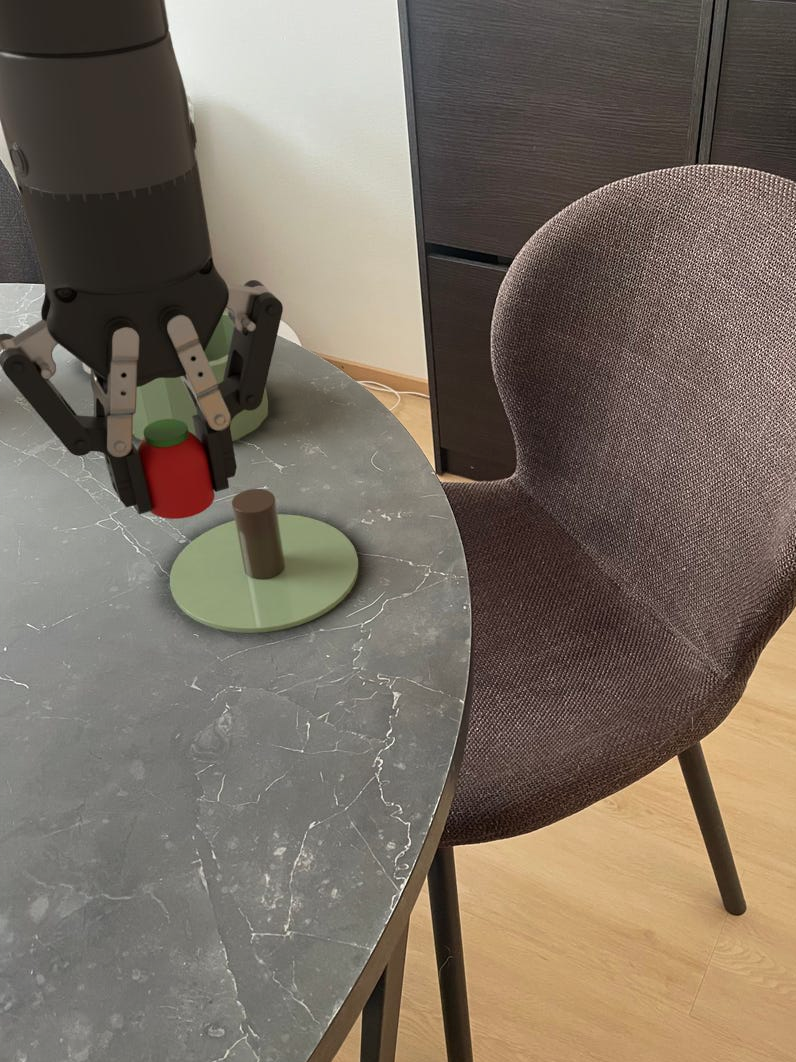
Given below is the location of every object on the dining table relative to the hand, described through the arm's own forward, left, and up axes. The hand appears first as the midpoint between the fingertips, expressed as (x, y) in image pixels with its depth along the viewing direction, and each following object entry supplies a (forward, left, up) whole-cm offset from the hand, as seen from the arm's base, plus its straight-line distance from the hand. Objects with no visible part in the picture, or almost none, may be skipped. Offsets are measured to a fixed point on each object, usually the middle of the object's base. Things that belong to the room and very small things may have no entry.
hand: (178, 493), depth 56 cm
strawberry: (0, 0, 0) cm, 0 cm away
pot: (-15, +29, -14) cm, 36 cm away
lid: (-1, +10, -13) cm, 17 cm away
